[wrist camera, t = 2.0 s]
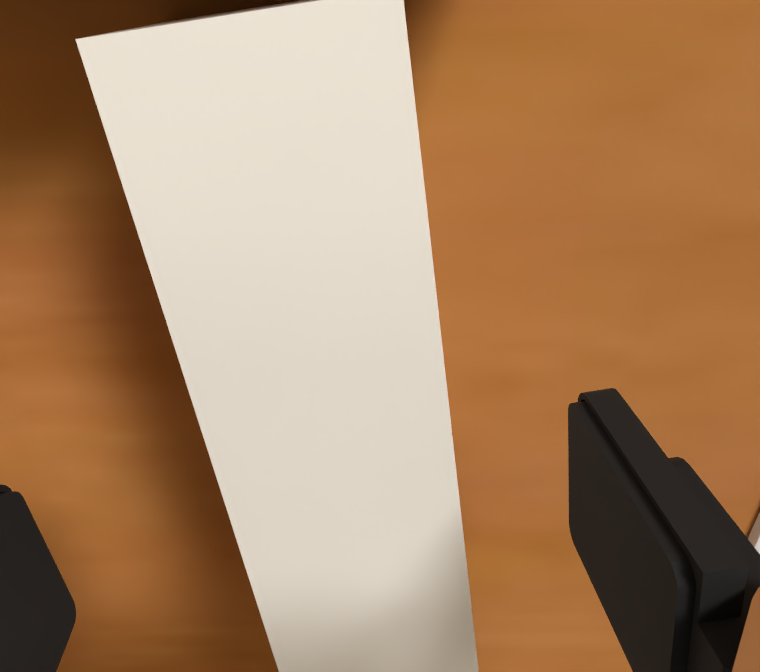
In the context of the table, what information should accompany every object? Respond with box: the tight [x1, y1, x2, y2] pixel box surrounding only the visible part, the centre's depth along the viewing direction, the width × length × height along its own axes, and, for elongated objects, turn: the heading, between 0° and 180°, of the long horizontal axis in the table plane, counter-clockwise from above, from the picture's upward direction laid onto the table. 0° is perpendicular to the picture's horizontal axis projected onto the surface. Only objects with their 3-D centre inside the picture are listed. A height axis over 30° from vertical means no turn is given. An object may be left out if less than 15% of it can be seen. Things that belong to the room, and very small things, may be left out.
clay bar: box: [75, 0, 479, 672], centre depth 14 cm, size 15×4×5 cm, turn 8°
